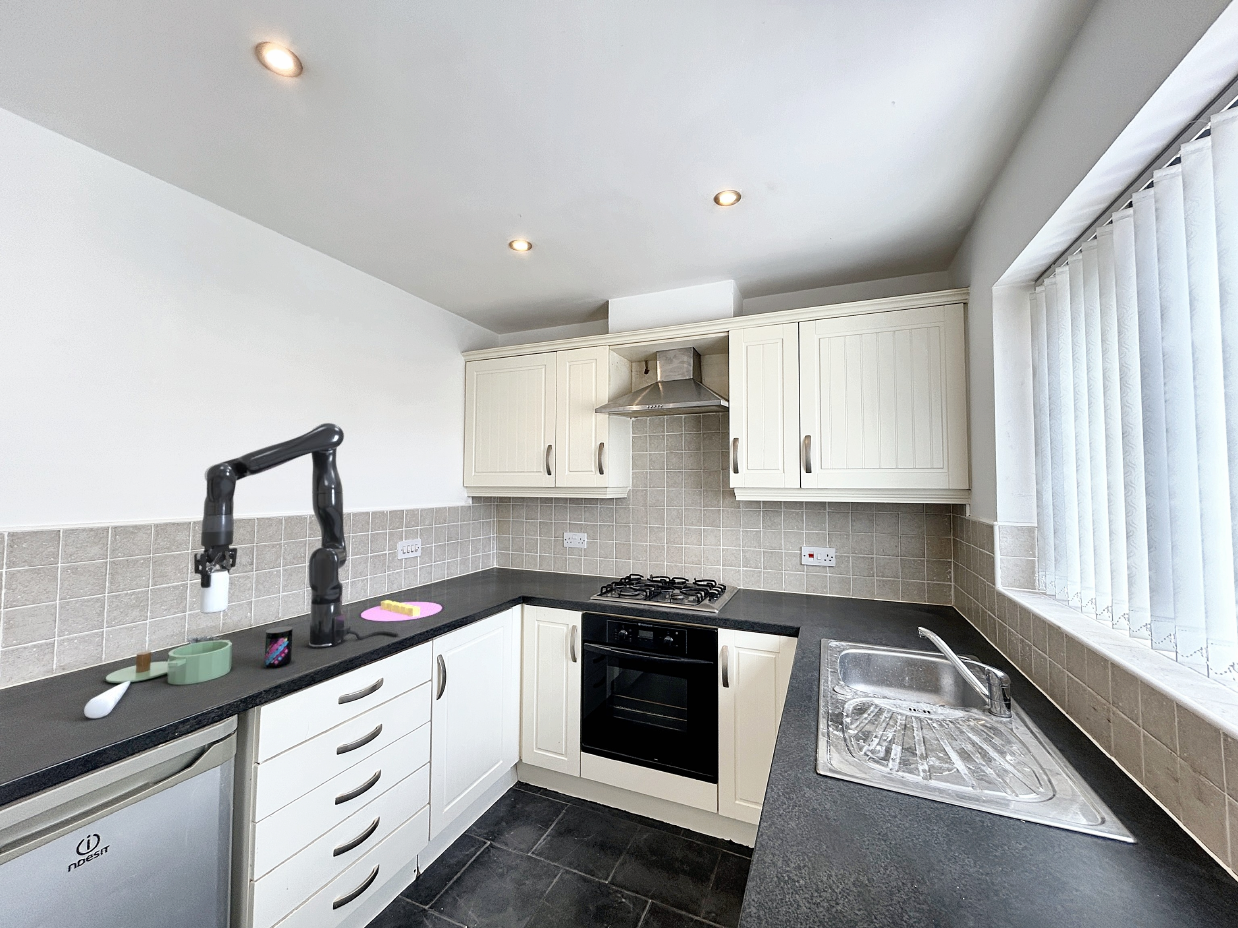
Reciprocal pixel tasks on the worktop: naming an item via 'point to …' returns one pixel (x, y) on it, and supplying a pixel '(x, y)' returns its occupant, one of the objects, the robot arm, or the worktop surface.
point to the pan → (199, 662)
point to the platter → (400, 611)
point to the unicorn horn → (105, 701)
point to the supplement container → (278, 647)
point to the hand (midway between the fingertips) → (215, 584)
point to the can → (215, 593)
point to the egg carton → (203, 639)
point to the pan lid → (139, 670)
